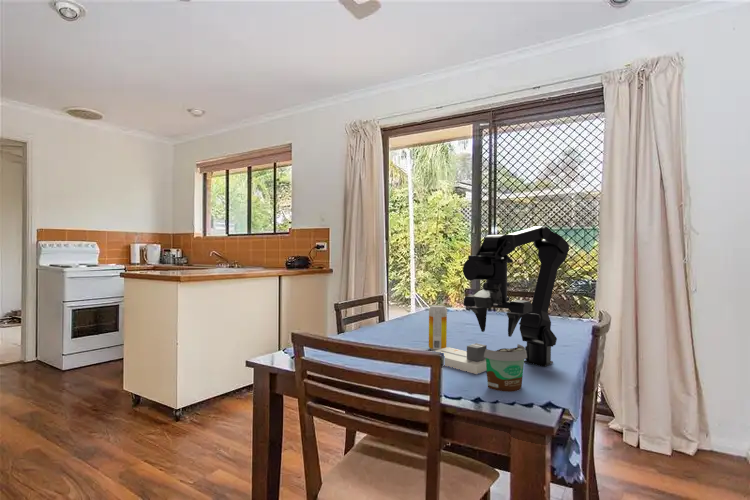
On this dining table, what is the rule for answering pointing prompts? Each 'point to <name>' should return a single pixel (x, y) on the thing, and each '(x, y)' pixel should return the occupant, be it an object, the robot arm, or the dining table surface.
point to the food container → (505, 368)
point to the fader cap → (476, 352)
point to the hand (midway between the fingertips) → (496, 334)
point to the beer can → (437, 327)
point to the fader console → (462, 360)
